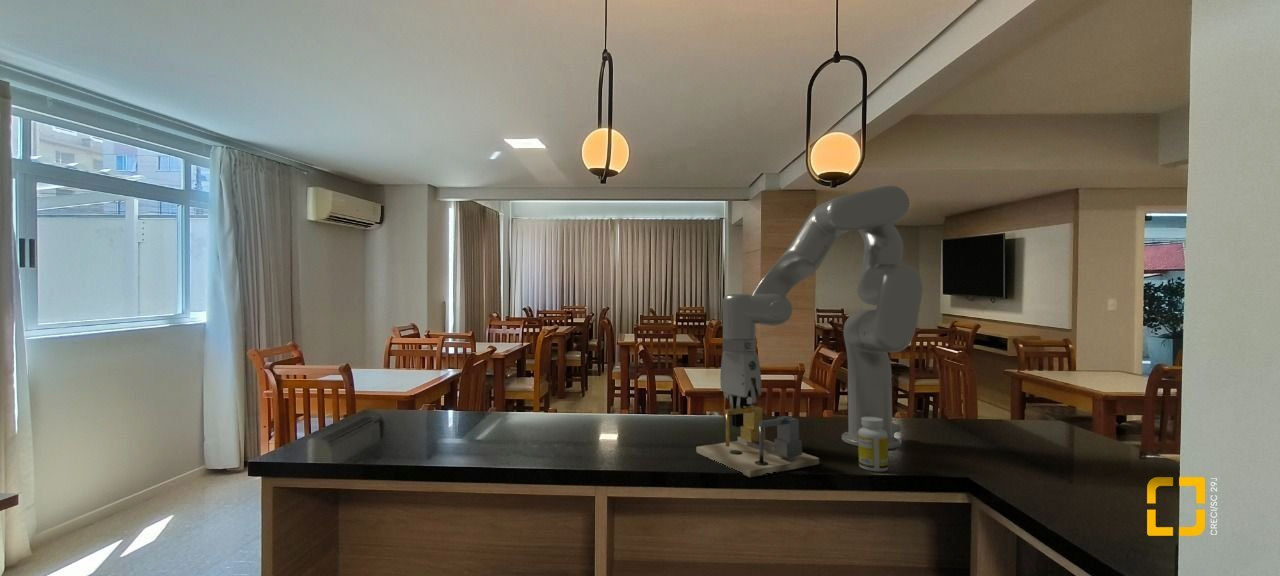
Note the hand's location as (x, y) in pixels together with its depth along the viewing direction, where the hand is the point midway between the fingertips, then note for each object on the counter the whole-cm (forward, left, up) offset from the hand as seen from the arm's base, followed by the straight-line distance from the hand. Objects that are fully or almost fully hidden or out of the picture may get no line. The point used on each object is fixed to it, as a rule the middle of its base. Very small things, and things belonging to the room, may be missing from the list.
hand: (739, 425), depth 113 cm
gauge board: (+3, +9, -4) cm, 11 cm away
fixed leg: (+3, +16, -3) cm, 16 cm away
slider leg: (+3, +5, -3) cm, 6 cm away
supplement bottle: (-14, +25, -5) cm, 29 cm away
